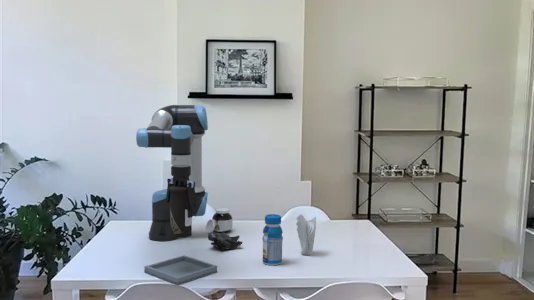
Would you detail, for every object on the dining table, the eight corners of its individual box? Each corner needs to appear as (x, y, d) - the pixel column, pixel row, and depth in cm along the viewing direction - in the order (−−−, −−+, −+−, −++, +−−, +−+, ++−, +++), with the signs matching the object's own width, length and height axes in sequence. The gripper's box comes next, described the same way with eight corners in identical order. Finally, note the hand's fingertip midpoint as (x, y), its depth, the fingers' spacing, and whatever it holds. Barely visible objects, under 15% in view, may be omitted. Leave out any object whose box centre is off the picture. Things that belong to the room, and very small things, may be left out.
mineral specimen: (225, 243, 227) (221, 222, 232) (204, 254, 233) (200, 233, 237) (246, 248, 239) (242, 227, 243) (225, 257, 244) (221, 237, 249)
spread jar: (234, 231, 268) (234, 209, 267) (221, 236, 259) (221, 213, 258) (216, 228, 275) (216, 206, 274) (202, 232, 265) (202, 210, 264)
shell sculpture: (317, 252, 234) (318, 213, 233) (313, 257, 227) (314, 216, 225) (300, 250, 237) (300, 211, 235) (294, 255, 229) (295, 215, 228)
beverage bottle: (275, 267, 213) (276, 219, 211) (258, 263, 217) (258, 216, 215) (286, 261, 220) (286, 215, 218) (268, 258, 225) (269, 212, 223)
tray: (144, 272, 204) (144, 266, 204) (184, 261, 219) (184, 255, 219) (177, 285, 191) (177, 278, 191) (217, 272, 206) (217, 265, 206)
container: (170, 232, 207) (170, 183, 205) (193, 232, 208) (193, 183, 206) (168, 238, 199) (167, 186, 197) (191, 238, 199) (192, 186, 197)
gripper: (156, 163, 205) (156, 220, 207) (191, 169, 191) (191, 230, 193) (171, 162, 210) (171, 217, 213) (206, 167, 197) (206, 226, 199)
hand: (180, 223), depth 203 cm, fingers closed on container, 8 cm apart
